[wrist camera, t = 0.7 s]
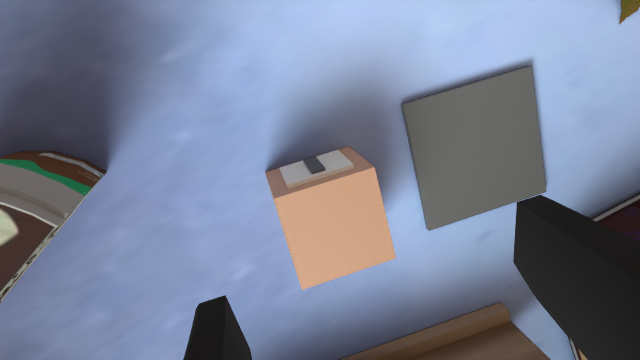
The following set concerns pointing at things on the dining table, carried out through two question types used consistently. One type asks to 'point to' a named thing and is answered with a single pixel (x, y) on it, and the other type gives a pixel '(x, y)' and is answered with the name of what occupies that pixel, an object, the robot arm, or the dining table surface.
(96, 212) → the dining table surface
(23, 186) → the food container
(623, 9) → the lily flower
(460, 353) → the walnut screen
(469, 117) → the charcoal pad
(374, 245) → the letter cube
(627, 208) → the book
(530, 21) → the dining table surface
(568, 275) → the robot arm
